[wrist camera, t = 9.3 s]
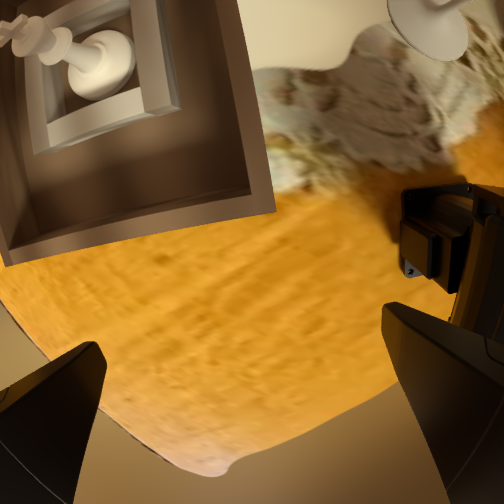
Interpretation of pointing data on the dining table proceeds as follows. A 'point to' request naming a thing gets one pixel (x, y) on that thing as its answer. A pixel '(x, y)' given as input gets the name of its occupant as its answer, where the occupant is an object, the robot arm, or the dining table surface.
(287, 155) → the dining table surface
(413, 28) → the wineglass
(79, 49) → the chess piece
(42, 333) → the dining table surface
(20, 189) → the walnut box
